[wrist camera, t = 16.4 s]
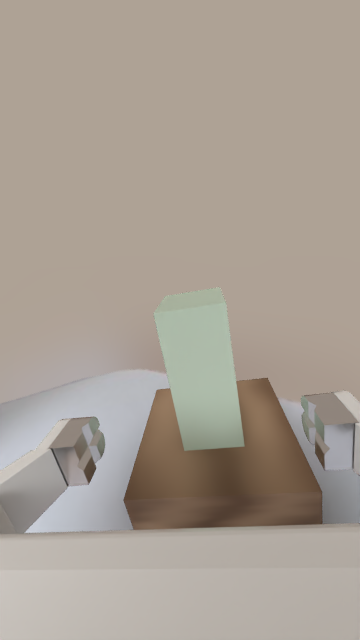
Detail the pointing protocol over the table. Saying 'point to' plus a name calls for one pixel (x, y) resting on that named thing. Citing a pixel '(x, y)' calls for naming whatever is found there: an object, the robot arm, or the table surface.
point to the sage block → (200, 368)
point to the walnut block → (223, 471)
